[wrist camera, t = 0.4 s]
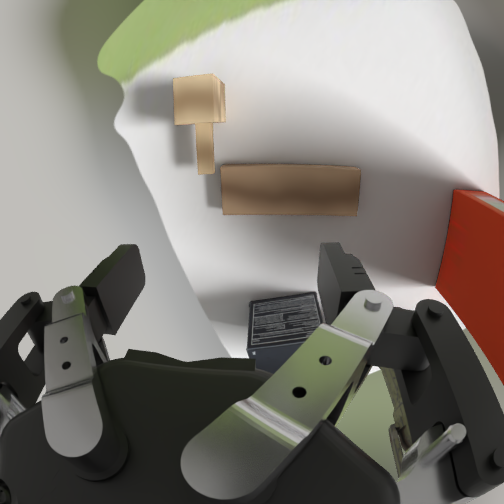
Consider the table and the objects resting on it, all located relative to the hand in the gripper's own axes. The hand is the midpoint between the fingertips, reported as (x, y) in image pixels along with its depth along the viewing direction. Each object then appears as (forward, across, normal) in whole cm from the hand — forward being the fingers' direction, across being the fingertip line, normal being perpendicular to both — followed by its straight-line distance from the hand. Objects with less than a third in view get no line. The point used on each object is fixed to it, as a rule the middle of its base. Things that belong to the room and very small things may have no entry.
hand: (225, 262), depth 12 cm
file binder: (+25, -35, +10) cm, 44 cm away
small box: (+25, -4, +23) cm, 34 cm away
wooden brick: (+25, +5, -5) cm, 26 cm away
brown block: (+25, -5, +3) cm, 26 cm away
